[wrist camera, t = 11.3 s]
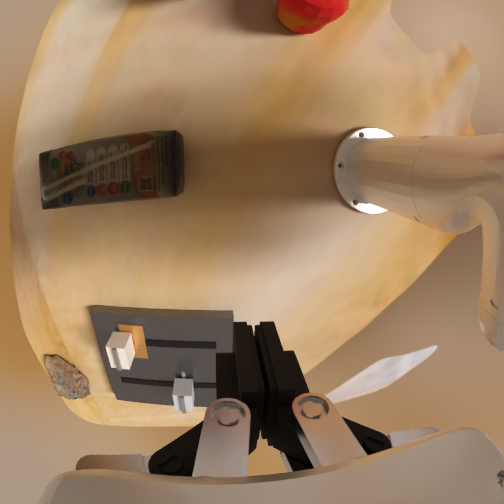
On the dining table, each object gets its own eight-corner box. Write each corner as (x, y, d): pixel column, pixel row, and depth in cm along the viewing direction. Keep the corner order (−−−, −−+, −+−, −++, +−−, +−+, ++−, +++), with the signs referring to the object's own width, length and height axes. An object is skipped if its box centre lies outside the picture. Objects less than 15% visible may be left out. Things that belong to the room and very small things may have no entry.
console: (232, 310, 41) (233, 318, 39) (230, 399, 48) (231, 407, 46) (95, 304, 39) (90, 311, 37) (119, 392, 45) (116, 400, 43)
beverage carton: (59, 150, 31) (34, 151, 25) (185, 132, 33) (178, 126, 27) (62, 204, 34) (38, 213, 27) (187, 192, 36) (180, 199, 29)
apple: (320, 50, 30) (356, 17, 19) (262, 31, 29) (279, -12, 18) (331, 9, 28) (364, -28, 17) (277, -10, 26) (296, -54, 15)
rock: (98, 386, 45) (68, 355, 40) (88, 410, 40) (55, 380, 35) (72, 381, 46) (44, 351, 41) (62, 402, 42) (31, 373, 36)
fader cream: (131, 332, 38) (123, 350, 34) (135, 353, 39) (128, 371, 35) (113, 331, 38) (104, 348, 34) (118, 351, 39) (110, 369, 35)
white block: (192, 379, 42) (191, 398, 38) (194, 394, 43) (193, 413, 39) (174, 378, 42) (172, 397, 38) (177, 393, 43) (175, 412, 39)
